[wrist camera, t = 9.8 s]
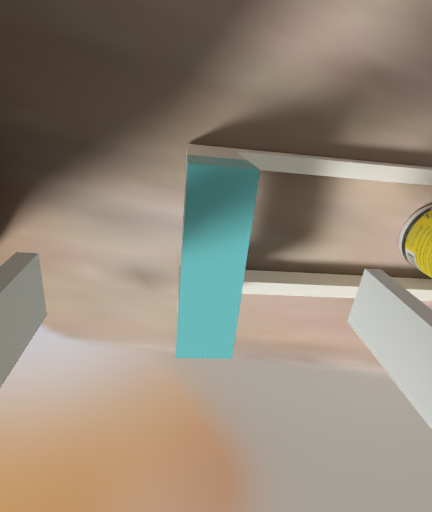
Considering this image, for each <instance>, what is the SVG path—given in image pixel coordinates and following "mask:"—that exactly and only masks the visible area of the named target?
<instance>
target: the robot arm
mask: <svg viewBox="0 0 432 512" xmlns="http://www.w3.org/2000/svg"><path fill="white" fill-rule="evenodd" d="M46 315H47V312H46V305H45V298H44V291H43V284H42V276H41V269H40V262H39V255H38V253H19V252H16V253H15V254H14V255H13V256H12V257H11V258H9V259H8V260H7V261H6V262H5V263H4V264H3V265H2V266H0V387H1V386H2V384H3V383H4V381H5V380H6V378H7V376H8V375H9V373H10V372H11V370H12V369H13V367H14V365H15V364H16V362H17V361H18V359H19V357H20V356H21V355H22V353H23V351H24V350H25V348H26V347H27V345H28V343H29V342H30V340H31V339H32V337H33V336H34V334H35V333H36V331H37V330H38V328H39V326H40V325H41V323H42V322H43V320H44V319H45V317H46ZM348 323H349V324H350V326H351V327H352V328H353V329H354V331H355V332H356V333H357V335H358V336H359V337H360V338H361V340H362V341H363V342H364V343H365V345H366V346H367V347H368V349H369V350H370V351H371V352H372V354H373V355H374V356H375V358H376V359H377V360H378V361H379V363H380V364H381V365H382V367H383V368H384V369H385V370H386V372H387V373H388V374H389V375H390V377H391V378H392V379H393V381H394V382H395V383H396V384H397V386H398V387H399V388H400V389H401V391H402V392H403V393H404V395H405V396H406V397H407V398H408V400H409V401H410V402H411V404H412V405H413V406H414V407H415V409H416V410H417V411H418V413H419V414H420V415H421V416H422V418H423V419H424V420H425V421H426V423H427V424H428V425H429V426H430V428H431V429H432V310H431V309H430V308H428V307H427V306H426V305H425V304H423V303H422V302H421V301H420V300H419V299H417V298H416V297H415V296H414V295H412V294H411V293H410V292H409V291H407V290H406V289H405V288H404V287H402V286H401V285H400V284H399V283H397V282H396V281H395V280H394V279H392V278H391V277H390V276H389V275H388V274H386V273H385V272H384V271H383V270H381V269H364V272H363V276H362V279H361V282H360V285H359V288H358V291H357V294H356V297H355V300H354V303H353V306H352V310H351V313H350V316H349V319H348Z"/></svg>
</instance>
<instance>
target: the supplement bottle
mask: <svg viewBox="0 0 432 512" xmlns="http://www.w3.org/2000/svg"><path fill="white" fill-rule="evenodd" d="M399 250H400V253H401V255H402V256H403V258H404V259H405V260H406V261H407V262H408V263H410V264H411V265H412V266H414V267H415V268H417V269H418V270H420V271H421V272H423V273H425V274H426V275H428V276H429V277H431V278H432V205H429V206H426V207H424V208H422V209H420V210H418V211H417V212H416V213H414V214H413V215H412V216H411V217H410V218H409V219H408V220H407V222H406V223H405V225H404V227H403V228H402V230H401V233H400V237H399Z"/></svg>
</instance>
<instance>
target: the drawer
mask: <svg viewBox="0 0 432 512" xmlns="http://www.w3.org/2000/svg"><path fill="white" fill-rule="evenodd" d="M260 170H262V171H274V172H285V173H296V174H308V175H319V176H330V177H341V178H353V179H364V180H375V181H386V182H398V183H409V184H420V185H431V186H432V167H423V166H413V165H403V164H392V163H382V162H371V161H361V160H351V159H340V158H330V157H320V156H309V155H299V154H288V153H278V152H268V151H257V150H247V149H237V148H226V147H216V146H205V145H195V144H186V184H185V200H184V217H183V233H182V250H181V266H180V267H179V279H178V308H177V338H176V358H211V359H232V354H233V347H234V341H235V334H236V327H237V321H238V314H239V308H240V301H241V294H265V295H290V296H315V297H339V298H355V297H356V294H357V291H358V288H359V285H360V282H361V279H362V276H359V275H339V274H319V273H299V272H279V271H259V270H245V268H246V261H247V254H248V248H249V241H250V235H251V228H252V221H253V215H254V208H255V201H256V195H257V188H258V181H259V175H260ZM391 278H392V279H394V280H395V281H396V282H397V283H399V284H400V285H401V286H402V287H404V288H405V289H406V290H407V291H409V292H410V293H411V294H412V295H414V296H415V297H416V298H417V299H419V300H420V301H432V279H419V278H399V277H391Z"/></svg>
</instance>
